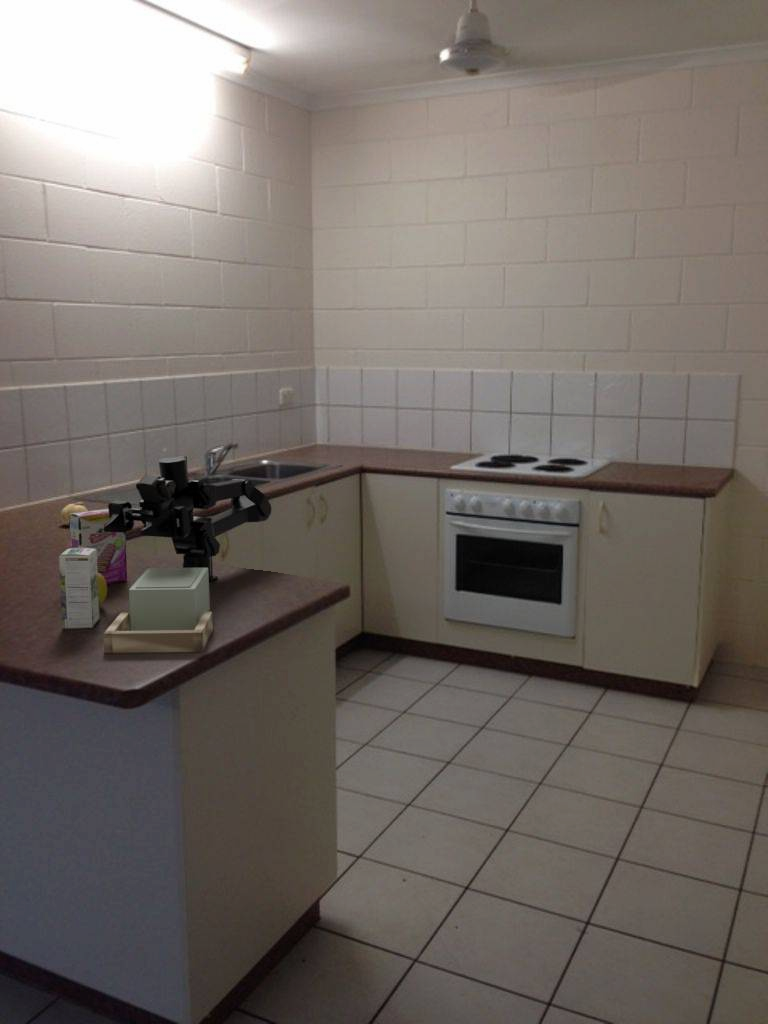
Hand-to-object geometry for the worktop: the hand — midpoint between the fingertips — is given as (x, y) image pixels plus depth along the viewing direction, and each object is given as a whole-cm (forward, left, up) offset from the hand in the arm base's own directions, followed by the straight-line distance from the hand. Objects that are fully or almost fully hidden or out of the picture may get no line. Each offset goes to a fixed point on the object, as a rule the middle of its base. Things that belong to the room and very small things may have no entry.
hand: (123, 531), depth 183 cm
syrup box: (+11, -1, -17) cm, 20 cm away
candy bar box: (-13, -20, -17) cm, 29 cm away
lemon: (+2, -7, -17) cm, 18 cm away
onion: (-58, -75, -17) cm, 96 cm away
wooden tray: (+12, +19, -16) cm, 28 cm away
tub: (+2, +13, -17) cm, 21 cm away
